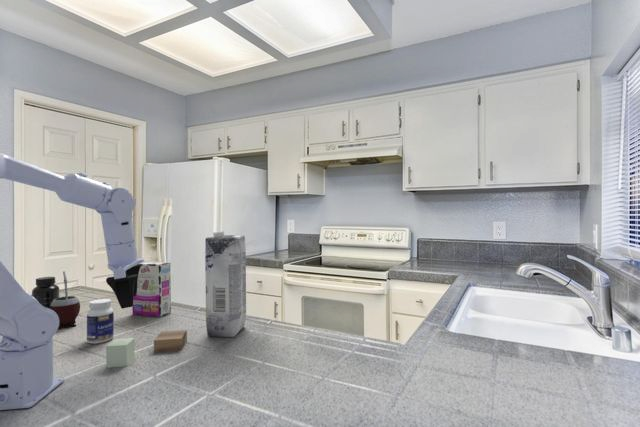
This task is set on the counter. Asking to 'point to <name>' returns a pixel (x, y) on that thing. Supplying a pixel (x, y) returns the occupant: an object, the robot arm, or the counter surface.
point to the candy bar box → (153, 290)
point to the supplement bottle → (46, 291)
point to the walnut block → (170, 340)
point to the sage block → (120, 352)
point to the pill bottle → (100, 321)
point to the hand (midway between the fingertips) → (129, 301)
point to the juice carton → (225, 284)
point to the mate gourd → (66, 308)
